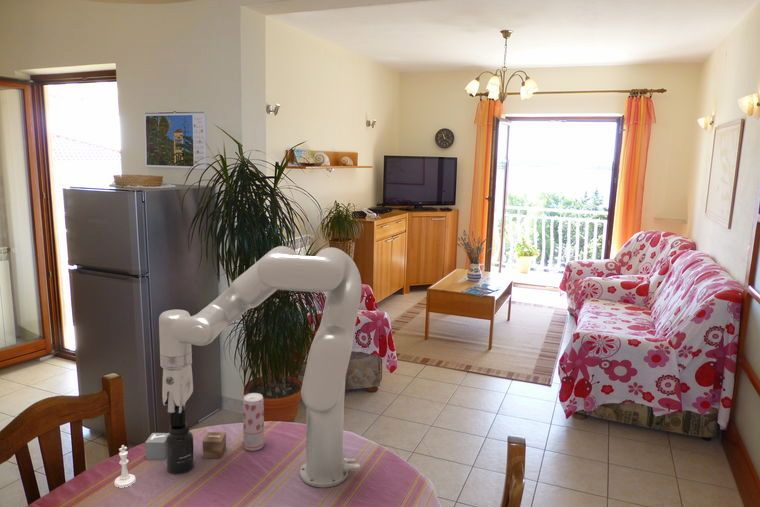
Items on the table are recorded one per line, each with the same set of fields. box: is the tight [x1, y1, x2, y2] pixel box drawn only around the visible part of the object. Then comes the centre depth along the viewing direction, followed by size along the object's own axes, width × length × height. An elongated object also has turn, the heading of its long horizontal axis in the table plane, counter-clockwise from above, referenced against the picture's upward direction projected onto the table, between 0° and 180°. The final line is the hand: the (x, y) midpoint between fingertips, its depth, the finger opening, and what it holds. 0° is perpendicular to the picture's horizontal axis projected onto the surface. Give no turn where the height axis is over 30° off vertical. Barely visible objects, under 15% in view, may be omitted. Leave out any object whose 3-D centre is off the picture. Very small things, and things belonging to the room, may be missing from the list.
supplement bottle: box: [165, 420, 195, 474], centre depth 144 cm, size 7×7×12 cm
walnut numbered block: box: [202, 431, 227, 459], centre depth 152 cm, size 5×5×5 cm
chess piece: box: [114, 444, 137, 489], centre depth 137 cm, size 5×5×10 cm
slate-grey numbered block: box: [144, 432, 169, 460], centre depth 150 cm, size 5×5×5 cm
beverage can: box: [242, 392, 265, 452], centre depth 155 cm, size 6×6×15 cm
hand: (178, 424), depth 143 cm, fingers closed
